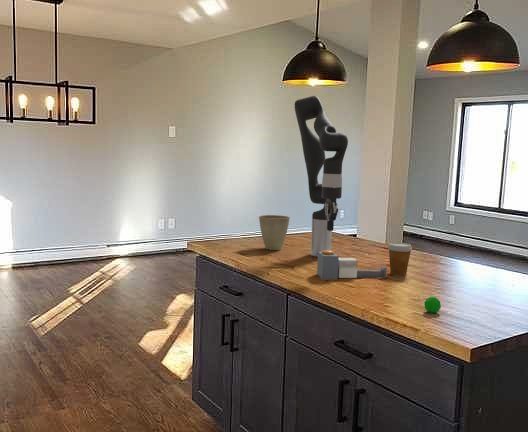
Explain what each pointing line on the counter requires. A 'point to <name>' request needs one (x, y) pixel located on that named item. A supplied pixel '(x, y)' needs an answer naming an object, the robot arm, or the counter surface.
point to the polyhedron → (432, 305)
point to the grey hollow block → (327, 266)
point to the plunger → (327, 252)
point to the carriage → (347, 268)
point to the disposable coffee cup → (399, 258)
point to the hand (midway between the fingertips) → (330, 230)
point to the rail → (372, 273)
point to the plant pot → (273, 230)
